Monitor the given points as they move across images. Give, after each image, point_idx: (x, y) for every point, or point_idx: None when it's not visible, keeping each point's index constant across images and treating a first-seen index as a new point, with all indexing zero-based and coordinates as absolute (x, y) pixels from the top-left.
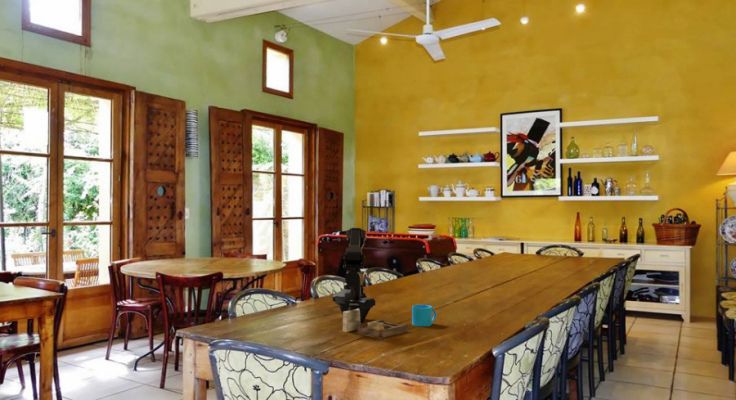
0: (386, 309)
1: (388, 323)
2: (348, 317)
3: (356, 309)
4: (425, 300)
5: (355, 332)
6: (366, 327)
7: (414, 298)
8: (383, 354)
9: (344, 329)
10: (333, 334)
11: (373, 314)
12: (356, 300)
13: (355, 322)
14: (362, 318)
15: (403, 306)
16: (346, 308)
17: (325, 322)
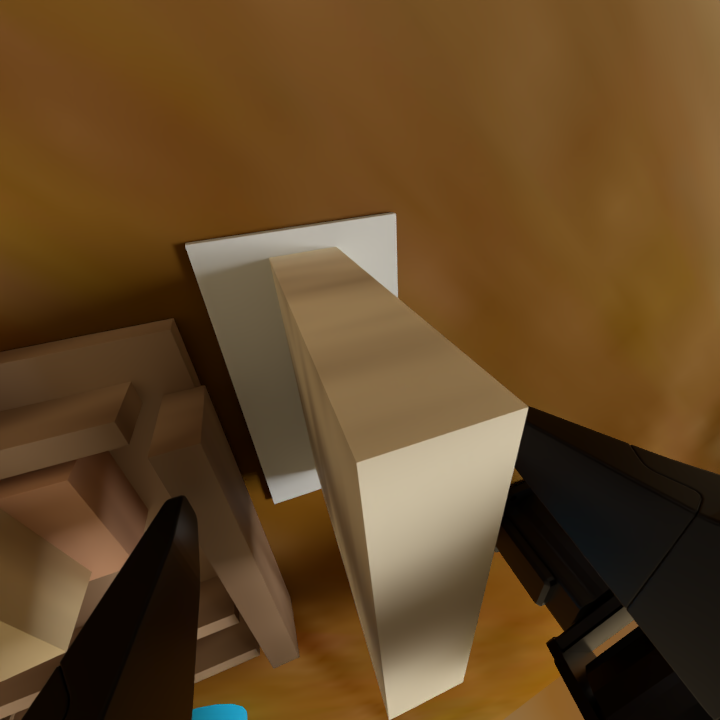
0: (534, 631)
1: (197, 670)
2: (320, 412)
3: (443, 663)
4: (503, 708)
5: (169, 343)
6: (62, 501)
7: (540, 688)
8: None
9: (316, 263)
10: (353, 74)
11: None
12: (653, 685)
13: (320, 462)
14: (116, 599)
15: (511, 670)
16: (620, 553)
17: (672, 336)
